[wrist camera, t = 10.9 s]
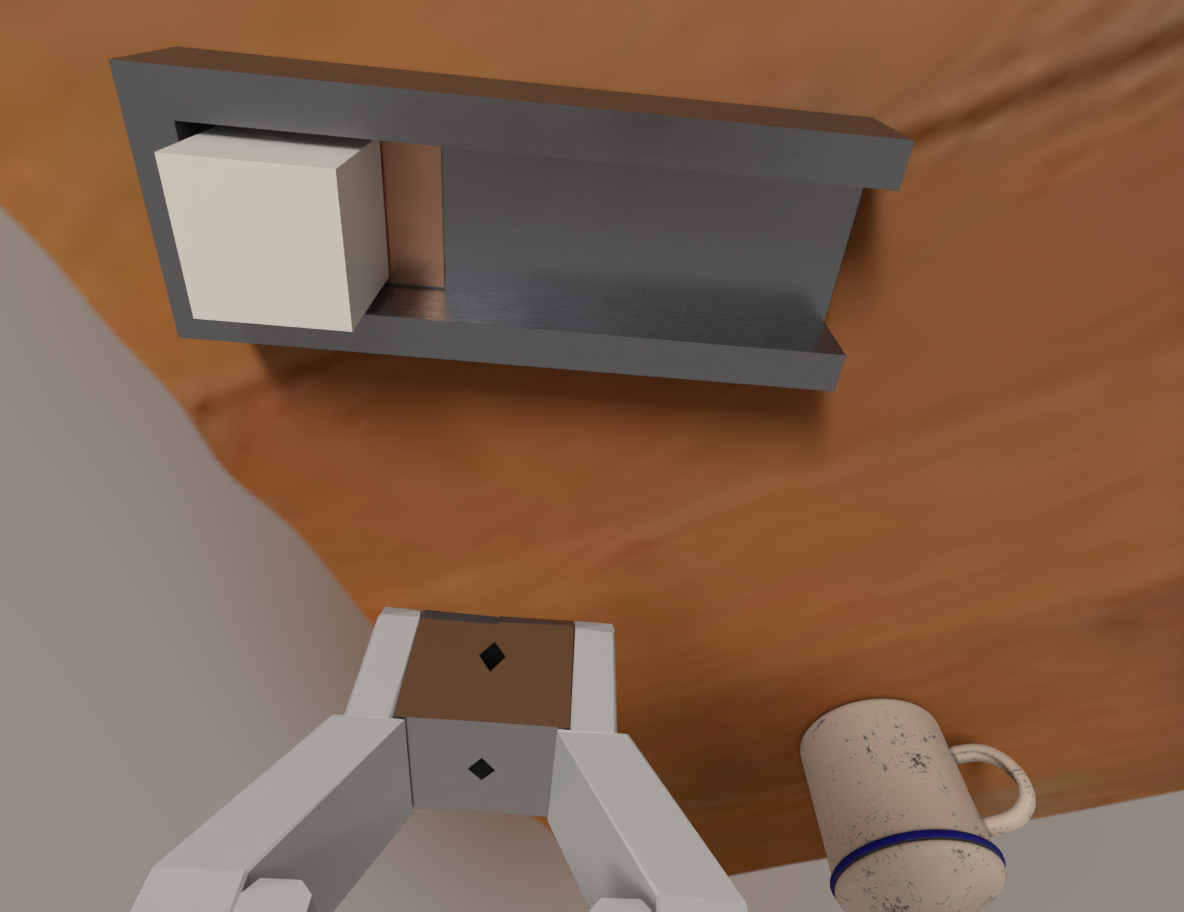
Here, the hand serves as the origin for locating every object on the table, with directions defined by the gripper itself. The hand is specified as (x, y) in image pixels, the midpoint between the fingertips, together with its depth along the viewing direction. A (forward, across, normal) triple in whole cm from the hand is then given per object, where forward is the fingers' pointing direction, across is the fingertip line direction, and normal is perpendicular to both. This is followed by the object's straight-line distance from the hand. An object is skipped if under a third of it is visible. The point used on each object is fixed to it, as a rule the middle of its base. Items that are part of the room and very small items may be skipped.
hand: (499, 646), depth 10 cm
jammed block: (+20, +9, 0) cm, 22 cm away
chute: (+21, +1, 0) cm, 21 cm away
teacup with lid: (+21, -23, +30) cm, 44 cm away
